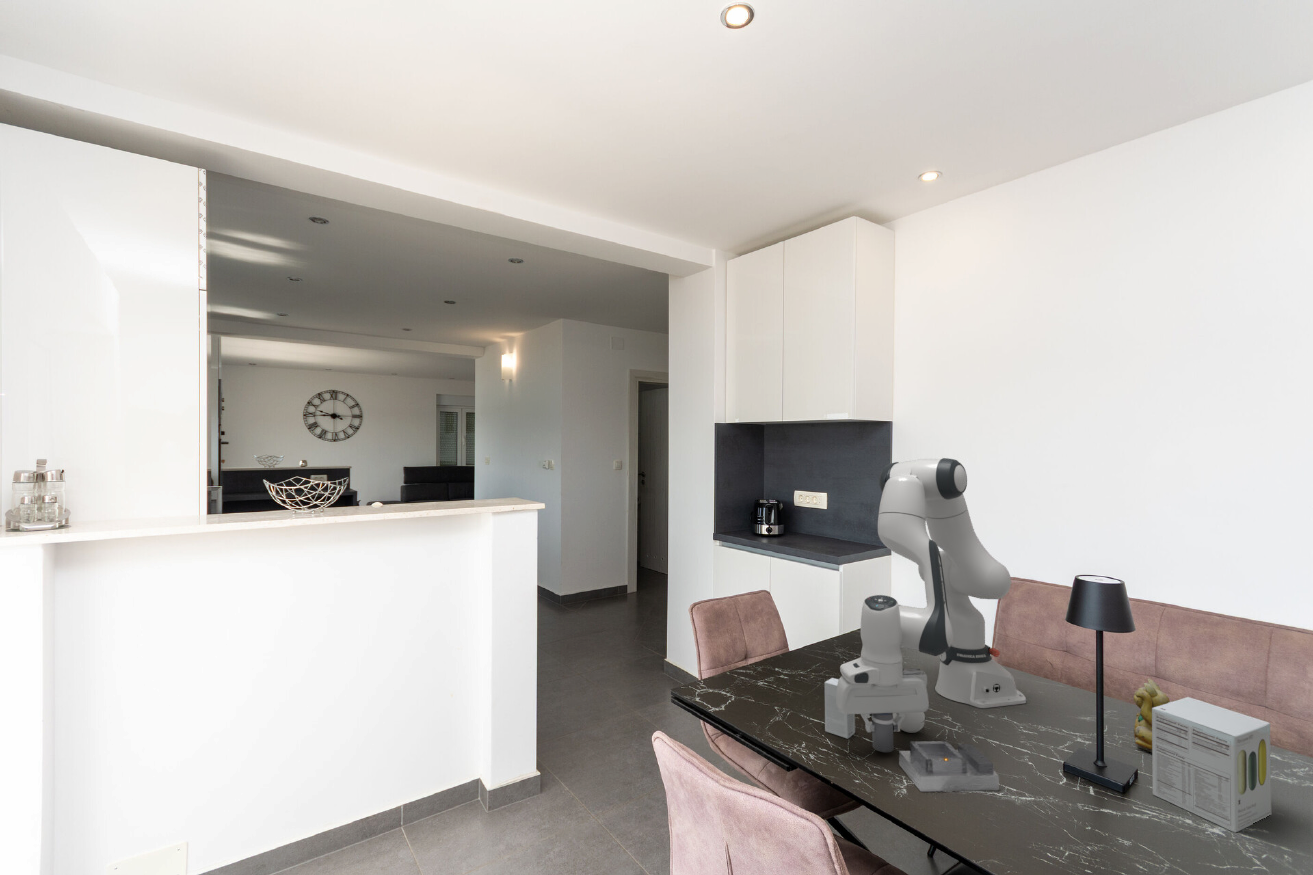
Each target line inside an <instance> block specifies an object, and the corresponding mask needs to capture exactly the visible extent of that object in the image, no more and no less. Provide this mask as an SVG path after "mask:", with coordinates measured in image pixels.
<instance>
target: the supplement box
mask: <svg viewBox="0 0 1313 875" xmlns="http://www.w3.org/2000/svg"><path fill="white" fill-rule="evenodd" d="M1151 753H1152V757H1151V758H1152V760H1151V761H1152V766H1151V767H1152V795H1154V796H1155V797H1158V798H1159V799H1162V800H1164V801H1166V802H1168V803H1171V804H1173V805H1175V806H1176V807H1179V808H1181V809H1183V810H1185V811H1188V812H1189V813H1191V814H1194V815H1196V816H1198V817H1200V818H1202V819H1205V820H1207V821H1208V822H1211V823H1213V824H1215V825H1217V826H1219V827H1221V828H1224V829H1226V830H1229V831H1230V832H1232V833H1234V834H1235V833H1238V832H1240V831H1242V830H1244V829H1246V828H1247V827H1251V826H1252V825H1254V824H1253V823H1255V822H1257V821H1259V820H1261V819H1262V818H1265V819H1266V817H1267V816H1269V815H1271V816H1272V781H1271V780H1272V779H1271V774H1272V773H1271V768H1272V766H1271V723H1270V722H1268V721H1265V720H1262V719H1259V718H1256V717H1253V716H1250V715H1246V714H1243V713H1240V712H1237V711H1234V710H1231V709H1227V708H1225V707H1221V706H1218V705H1215V704H1212V703H1208V702H1206V701H1202V700H1200V699H1195V698H1193V697H1190V696H1186V697H1183V698H1181V699H1178V700H1174V701H1170V702H1169V703H1167V704H1164V705H1160V706H1157V707H1154V708H1152V752H1151ZM1269 817H1270V816H1269ZM1267 818H1268V817H1267ZM1261 821H1262V820H1261ZM1259 822H1260V821H1259ZM1257 823H1258V822H1257ZM1255 824H1256V823H1255Z"/></svg>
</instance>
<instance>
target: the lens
mask: <svg viewBox="0 0 1313 875" xmlns="http://www.w3.org/2000/svg"><path fill="white" fill-rule="evenodd" d="M893 721H894V719H893V713H876V714H871V722H872V723H873V724H874V725H875V728H874V730H875V732H871V733H872V748H873V749H874V750H876V751H878V752H881V753H891V752H893V751H894V732H893Z"/></svg>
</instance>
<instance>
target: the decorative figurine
mask: <svg viewBox="0 0 1313 875" xmlns="http://www.w3.org/2000/svg"><path fill="white" fill-rule="evenodd" d="M1143 685H1144V686H1143V687H1142V686H1141V687H1139V688H1138V689H1137V690H1135V691H1134V695H1133V701H1134V703H1135V705H1136V706H1137V707H1138V708H1139V709H1140V712H1137V713H1136V715H1135V716H1136V719H1135V720H1134V721H1135V722H1134V726H1133V727H1134V729H1133V734H1134V736H1133V737H1134V744H1136V745H1137V748H1138V749H1142V750H1144V751H1146V752H1147V751H1148V752H1150V753H1152V708H1154V707H1157V706H1160V705H1164V704H1167V703H1169V702H1171V701H1170V698H1169V696H1168V695H1167V694H1166V693H1165V692H1163V691H1162V690H1161V688H1160V686H1159V685H1158V683H1157V682H1155V681H1154V680H1153V679H1151V678H1147V682H1143Z"/></svg>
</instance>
